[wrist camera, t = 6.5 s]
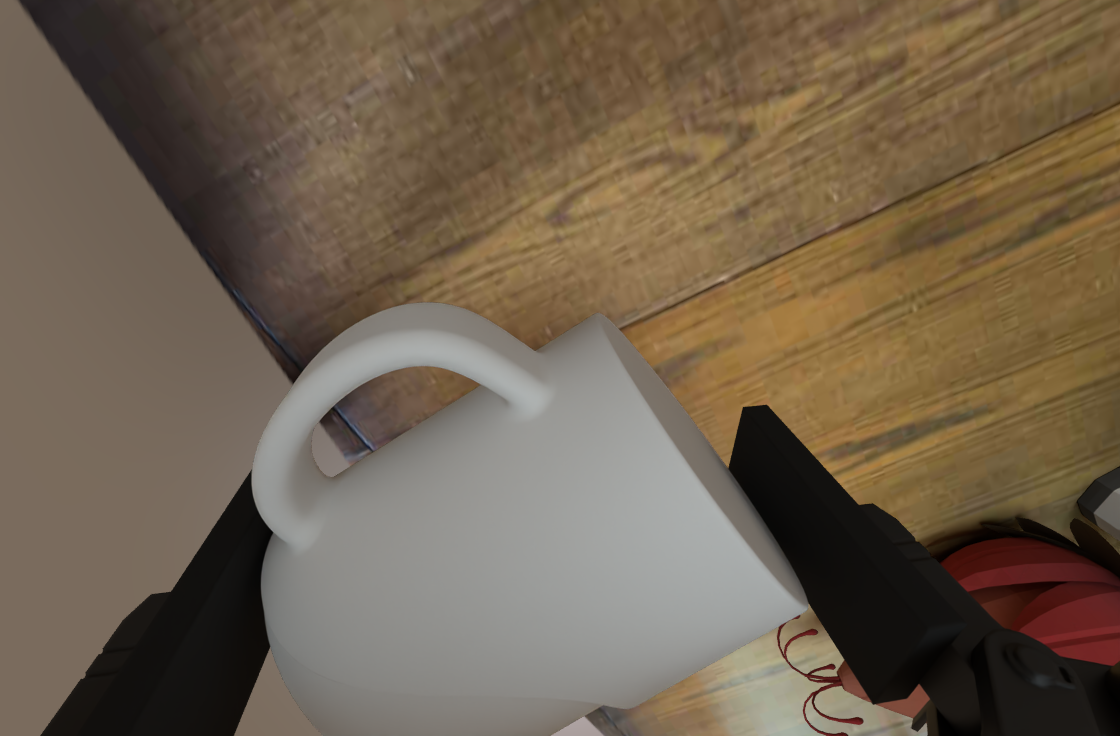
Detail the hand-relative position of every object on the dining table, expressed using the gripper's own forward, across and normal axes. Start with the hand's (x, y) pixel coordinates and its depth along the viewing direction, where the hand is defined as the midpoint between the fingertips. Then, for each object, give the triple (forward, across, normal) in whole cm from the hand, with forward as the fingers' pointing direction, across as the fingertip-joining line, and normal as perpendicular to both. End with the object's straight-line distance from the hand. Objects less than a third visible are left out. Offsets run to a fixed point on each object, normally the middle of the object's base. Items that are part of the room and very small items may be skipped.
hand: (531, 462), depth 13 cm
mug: (+2, 0, 0) cm, 2 cm away
